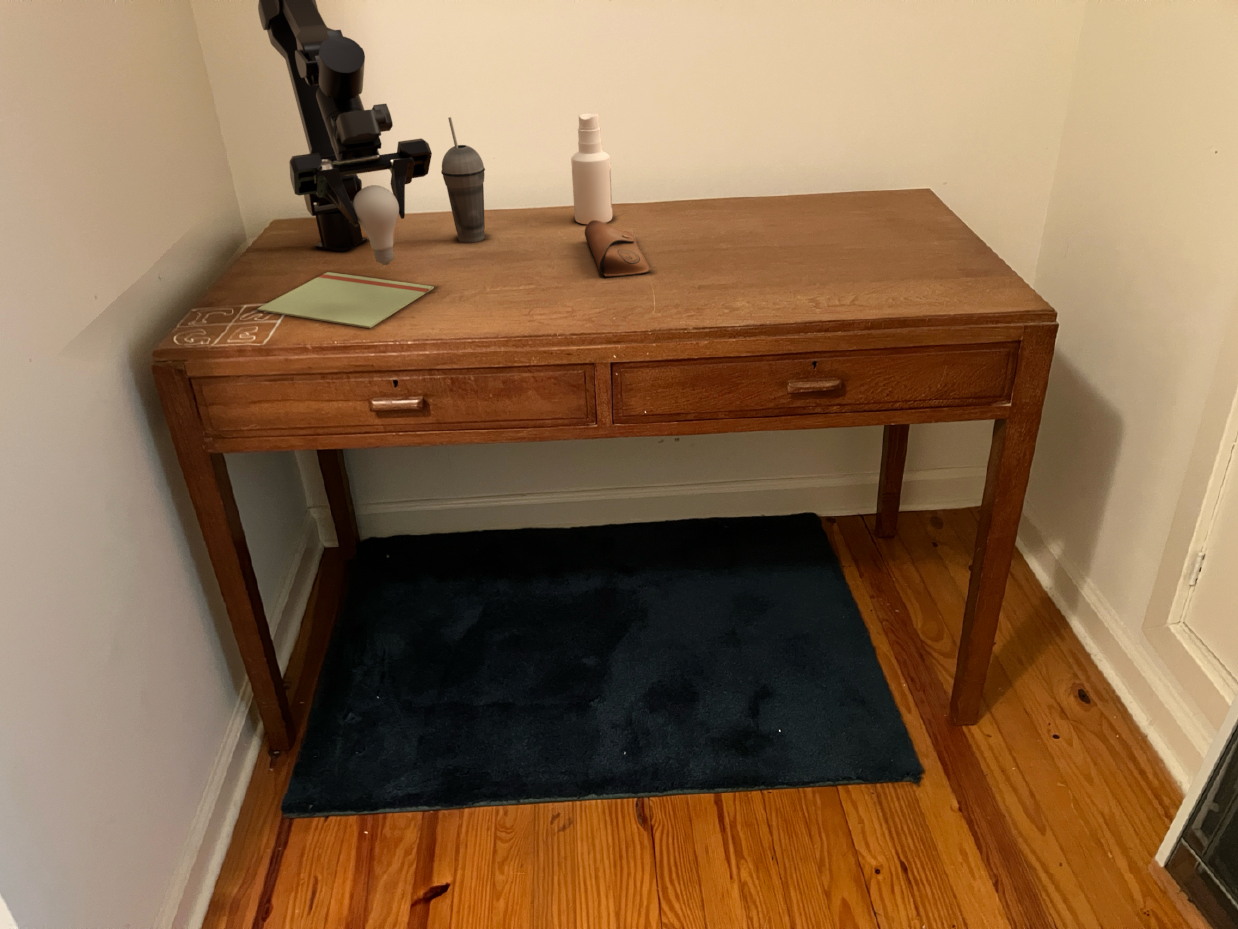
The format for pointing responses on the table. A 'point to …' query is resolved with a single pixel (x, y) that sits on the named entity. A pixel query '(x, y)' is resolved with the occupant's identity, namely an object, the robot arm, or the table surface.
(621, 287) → the table surface
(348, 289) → the cloth
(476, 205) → the beverage cup
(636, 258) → the sunglasses case
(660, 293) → the table surface
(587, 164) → the spray bottle
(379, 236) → the lightbulb
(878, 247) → the table surface
